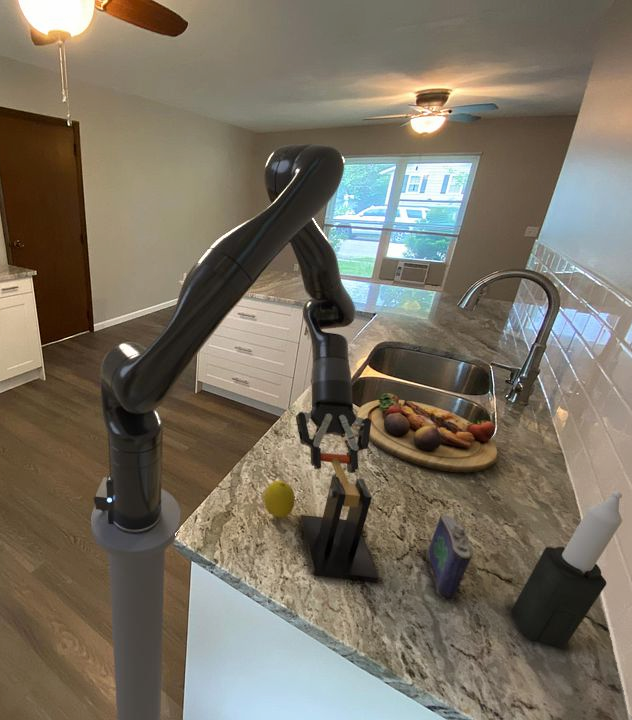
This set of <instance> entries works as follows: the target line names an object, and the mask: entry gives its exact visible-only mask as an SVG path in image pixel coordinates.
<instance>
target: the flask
mask: <svg viewBox="0 0 632 720" xmlns="http://www.w3.org/2000/svg"><path fill="white" fill-rule="evenodd" d="M469 531H470V529H469V528H468V527H467V525H466V526H462V525H460V524H459V523H458V522H457V521H456V519H455V518H453V517H452V516H450V515H447V514H442V515H439V518H438V522H437V524H436V526H435V529H434V533H433V535H432V538H431V540H430V543H429V545H428V547H427V549H426V551H425V557H426V561H427V562H428V565H429V571H430V573H431V574H432V576H433V577H434V578H433V581H434V582H435V587H436V592H437V593H438V595H439V596H440V597H442V599H443V600H447V601H454V600H455V598H456V597H457V592H458V589H459V587H460V585H461V582H462V580H463V577H464V574H465V573H466V570H467V569H468V565H469V564H470V561H471V559H472V553H471V547H470V544H469V541H468V538H467V536H466V533H465V532H467V533H468V532H469Z"/></svg>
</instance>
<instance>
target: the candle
mask: <svg viewBox="0 0 632 720" xmlns="http://www.w3.org/2000/svg"><path fill="white" fill-rule="evenodd" d="M622 498H623V495H622V493H621V492H619V491H612V492H611V496H609V497H608V498H606V499H605V500H603V501H601V502H599V503H595V504H592V505H590V506H588V509H587V510H586V511H585V513H584V515H583V517H582V518H581V520H580V522H579V524H578V525H577V527H576V529H575V530H574V532H573V534H572V536H571V538H570V539H569V542H568V543H567V545H566V546H565V547H564V546H557V547H552V546H547V547H545V548H544V549H543V551H542V553H541V555H540V556H539V559H538V560H537V562H536V564H535V566H534V568H533V570H532V571H531V573H530V574H529V576H528V579H527V580H526V581H525V584H524V586H523V588H522V590H521V591H520V593H519V594H518V597H517V598H516V600H515V602H514V604H513V605H512V608H511V614H512V615H513V618H514V620H515V622H516V624H517V626H518V628H519V630H520V632H521V633H522V634H523V636H524V637H525V638H527V639H529V640H530V641H533V642H539V643H543V644H545V645H546V644H547V645H549V646H553V647H555V648H557V649H565V647H566V646H567V645H568V643H569V642H570V640H571V638H572V637H573V635H574V634H575V632H576V631H577V629H578V628H579V626H580V625H581V623H582V622H583V620H584V619H585V617H586V616H587V615H588V613H589V611H590V610H591V609H592V608H593V605H594V604H595V602H596V601H597V600H598V598H599V597H600V595H601V593H602V592H603V590H604V589H605V587H606V586H607V580H606V579H605V577H604V576H603V575H602V570H601V567H599V565H598V564H597V562H598V561H599V559H600V557H601V556H602V554H603V553H604V551H605V550H606V549H607V546H608V545H609V544H610V542H611V540H612V539H613V537H614V535H616V532H617V531H618V529H619V528H620V526H621V525H622V522H623V519H622V516H621V513H620V499H622Z"/></svg>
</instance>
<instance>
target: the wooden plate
mask: <svg viewBox="0 0 632 720" xmlns="http://www.w3.org/2000/svg"><path fill="white" fill-rule="evenodd" d="M355 415H356V417H359V418H363V419H366V418H370V419H371V428H370V436H369V442H371V443H373V444H374V445H375V446H377V447H379V448H380V449H382V450H384V452H387V453H388V454H390V455H392V456H394V457H397V458H399V459H401V460H403V461H407V462H409V463H412V464H415V465H418V466H422V467H424V468H428V469H432V470H437V471H443V472H450V473H472V472H473V473H475V472H480V471H483V470H486V469H488V468H490V467H492V466H493V465H494V464H495V463H496V462H497V460H498V456H499V451H498V448H497V445H496V443H495V442H494V440H493V439H492V437H493V436H494V433H495V430H496V427H495V424H494V423H493V422H492V421H489V420H482V419H480V420H478V419H477V420H476V421H473V420H471V422H470V421H469V420H467V419H465V418H463V417H462V416H459V415H457V414H455V413H454V412H451V411H449V410H444V409H443V408H439V407H436V406H433V405H429V404H425V403H421V402H417V401H411V400H408V399H405V400H404V399H399V397H398V395H397V394H394V393H389V392H388V393H386V392H384V393H381V396H380V397H379V398H378V399H376V400H373V401H369V402H367V403H364V404H363V405H361V406H360V407H359V408H358V409H357V411H356V413H355Z"/></svg>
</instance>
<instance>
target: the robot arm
mask: <svg viewBox="0 0 632 720" xmlns="http://www.w3.org/2000/svg"><path fill="white" fill-rule="evenodd" d="M263 173H264V174H263V184H264V188H265V192H266V194H267V197H268V200H269V203H270V205H268V206H267V207H266V208H265V209H264V210H262V211H260V213H258V214H256V215H255V216H253V217H252V218H249V219H247V220H246V221H244V222H242V223H240V224H239V225H237V226H235V227H234V228H232V229H230V230H228V231H227V232H225V233H224V234H222V235H221V236H219V237H218V238H217V239H216V240H214V241H213V243H211V244H210V245H209V246H208V248H207V249H206V250H205V252H203V254H202V255H201V256H200V257H199V259H198V260H196V262H195V264H194V265H192V267H191V269H190V270H189V271H188V273H187V274H186V277H185V278H184V281H183V283H182V286H181V288H180V292H179V295H178V298H177V301H176V304H175V308H174V311H173V313H172V314H171V315H172V316H171V318H170V320H169V322H168V323H167V325H166V326H165V327H164V329H163V330H162V331H161V332H160V334H159V335H158V336H157V337H156V338H155V340H154V341H153V342H152V343H151V344H150V345H149V346H148V347H145V346H144V345H142V344H140V343H137V342H134V341H123V342H121V343H118V344H115V345H114V346H113V347H111V348H110V349H109V350H108V351H107V353H106V354H105V356H104V357H103V360H102V362H101V366H100V372H99V385H100V396H101V407H102V408H101V409H102V416H103V421H104V425H105V428H106V432H107V447H108V449H107V450H108V470H109V474H108V476H107V477H105V476H104V477H103V478H102V480H101V481H100V485H99V487H98V489H97V491H96V494H94V497H93V502H94V505H96V509H97V510H101V511H102V512H103V511H105V510H106V511H108V524H113V525H114V526H115V527H116V528H117V529H119V530H120V531H122V532H125V533H129V534H140V533H144V532H147V531H149V530H151V529H153V528H154V527H155V526H156V525H157V524H158V523H159V521H160V519H161V515H162V509H161V491H162V489H163V488H162V487H163V482H162V481H163V435H164V434H163V432H164V427H163V421H162V419H161V416H160V414H159V412H158V409H157V408H159V407H160V406H161V405H162V404H163V403H164V402H165V401H166V400H167V399H168V398H169V396H170V395H172V392H173V391H174V389H175V388H176V387H177V386H178V384H179V383H180V380H181V379H182V377H183V376H184V375H185V373H186V371H187V370H188V368H190V366H191V364H192V363H193V361H194V360H195V358H196V356H198V354H199V352H200V351H201V350H202V349H203V347H204V346H205V344H206V343H207V342H208V341H209V340H210V338H211V337H212V336H213V335H214V333H215V332H216V330H217V329H218V328H219V327H220V325H221V324H222V323H223V322H224V321H225V319H226V318H227V317H228V316H229V314H230V313H231V312H232V311H233V310H234V309H235V307H236V306H237V305H238V304H239V303H240V302H241V301H242V300H243V298H245V296H246V295H247V293H248V292H249V291H250V290H251V289H252V287H253V286H254V285H255V284H256V282H257V281H258V280H259V278H260V277H261V275H263V273H264V272H265V271H266V270H267V268H268V267H269V266H270V264H272V262H274V260H275V259H276V258H277V257H278V256H279V255H280V254H281V252H282V251H283V250H284V249H285V248H286V246H288V244H290V246H291V249H292V251H293V254H294V257H295V259H296V261H297V265H298V269H299V273H300V276H301V281H302V283H303V284H302V285H303V287H304V288H303V289H304V291H305V294H306V296H307V297H308V298H309V299H308V300H307V301H306V302H305V303H304V305H303V308H302V318H303V321H304V324H305V326H306V329H307V331H308V335H309V338H310V343H311V362H312V366H311V373H310V375H311V377H310V384H311V410H310V412H303V411H300V412H298V413H297V414H296V415H295V421H296V426H297V431H298V435H299V441H300V444H301V445H303V446H307V448H309V450H310V464H311V466H313V468H314V470H320V469H322V461H321V453H322V448H321V447H320V445H321V443H322V441H323V438H324V437H325V435H327V436H328V435H333V436H335V437H336V436H338V437H340V440H341V441H342V442H343V444H344V446H345V448H346V450H347V452H346V455H349V457H350V463H349V464H346V468H347V469H346V470H347V473H350V474H353V473H356V470H358V469H359V455H358V454H359V451H363V450H366V449H368V448H369V444H370V440H369V436H370V428H371V419H370V418H366V419H363V418H359V417H356V413H355V412H354V402H353V401H354V400H353V399H354V398H353V385H352V384H353V382H352V372H351V367H350V358H349V343H348V339H347V337H345V336H344V335H343V334H339V333H334V332H326V331H323V330H330V329H331V330H332V329H338V328H340V329H341V328H346V327H349V326H350V325H351V324H352V323H353V322H354V320H355V318H356V306H355V303H354V301H353V299H352V297H351V296H350V294H349V293H348V291H347V289H346V288H345V286H344V285H343V282H342V279H341V271H340V265H339V261H338V257H337V255H336V252H335V249H334V247H333V246H332V244H331V242H330V241H329V239H328V238H327V237H326V235H325V233H324V232H323V231H322V229H321V228H320V227H319V225H318V223H316V220H315V219H314V218H315V217H316V216H317V215H318V214H320V212H321V211H322V210H323V209H324V208H325V207H326V206H327V205H328V204H329V202H330V201H331V200H332V198H333V197H334V196H335V195H336V193H337V191H338V189H339V187H340V185H341V183H342V180H343V176H344V173H345V158H344V156H343V154H342V152H341V151H340V150H339V149H338V148H337V147H334V146H331V145H327V144H323V143H313V144H312V143H309V144H306V143H303V144H302V143H294V144H293V143H292V144H284V145H281V146H278V147H277V148H276V149H275V150H273V152H271V154H270V155H269V157H268V158H267V161H266V163H265V166H264V171H263ZM310 420H311V422H312V423H313V424H314V425H315V427H316V429H315V431H314V433H313V436H312V438H311V437H310V433H309V429H308V424H309V422H310ZM354 424H356V429H358V435H357V441H356V439H355V434H354V432H353V430H352V428H351V427H352V426H353V425H354Z"/></svg>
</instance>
